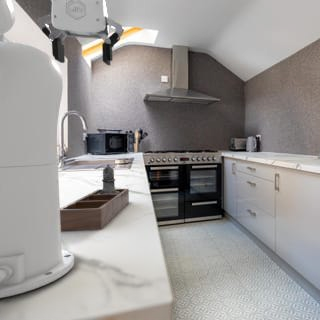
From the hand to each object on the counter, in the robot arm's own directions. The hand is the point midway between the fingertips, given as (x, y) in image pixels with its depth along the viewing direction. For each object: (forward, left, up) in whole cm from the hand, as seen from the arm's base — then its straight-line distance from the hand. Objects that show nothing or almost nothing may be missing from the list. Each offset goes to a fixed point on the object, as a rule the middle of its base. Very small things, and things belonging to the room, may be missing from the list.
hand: (83, 62), depth 58 cm
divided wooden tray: (+7, 0, -37) cm, 37 cm away
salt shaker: (+15, 0, -36) cm, 39 cm away
